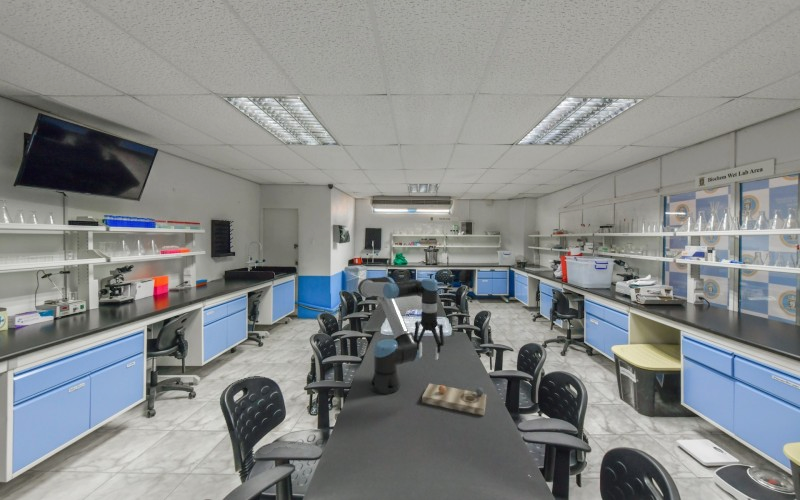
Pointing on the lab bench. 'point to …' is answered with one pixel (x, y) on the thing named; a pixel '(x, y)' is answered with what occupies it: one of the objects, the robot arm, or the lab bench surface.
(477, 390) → the grey ball
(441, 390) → the ball
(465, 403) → the board
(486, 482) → the lab bench surface
